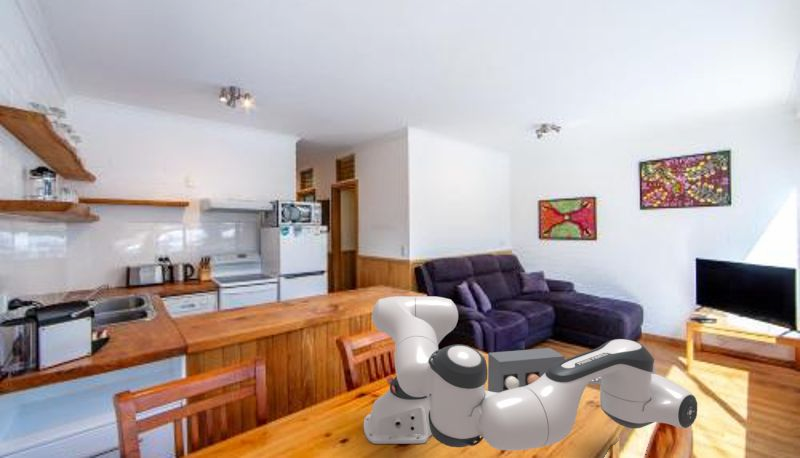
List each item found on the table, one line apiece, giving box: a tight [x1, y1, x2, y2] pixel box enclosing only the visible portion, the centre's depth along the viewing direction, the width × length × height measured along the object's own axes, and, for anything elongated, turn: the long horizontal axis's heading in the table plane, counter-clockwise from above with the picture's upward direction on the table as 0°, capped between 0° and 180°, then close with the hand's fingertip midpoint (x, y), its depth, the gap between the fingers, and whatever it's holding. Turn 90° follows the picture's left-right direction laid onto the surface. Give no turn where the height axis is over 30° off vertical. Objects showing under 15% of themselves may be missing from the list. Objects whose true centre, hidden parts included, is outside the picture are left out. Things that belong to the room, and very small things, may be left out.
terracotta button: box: [526, 373, 540, 385], centre depth 115 cm, size 4×2×4 cm, turn 102°
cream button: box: [504, 376, 519, 389], centre depth 114 cm, size 4×2×4 cm, turn 102°
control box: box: [487, 347, 565, 393], centre depth 120 cm, size 24×8×16 cm, turn 102°
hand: (587, 358), depth 103 cm, fingers closed
